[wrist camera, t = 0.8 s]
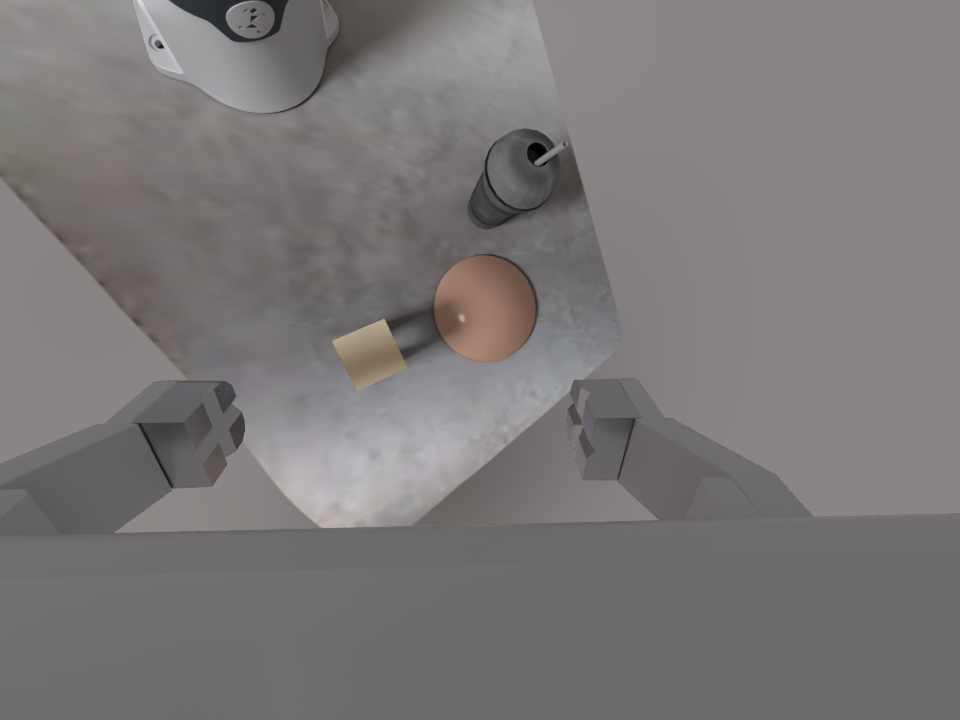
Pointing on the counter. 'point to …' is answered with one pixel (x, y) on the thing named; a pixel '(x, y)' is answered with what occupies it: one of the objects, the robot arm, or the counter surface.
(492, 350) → the coaster
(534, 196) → the beverage cup
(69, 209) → the counter surface
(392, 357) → the stool
